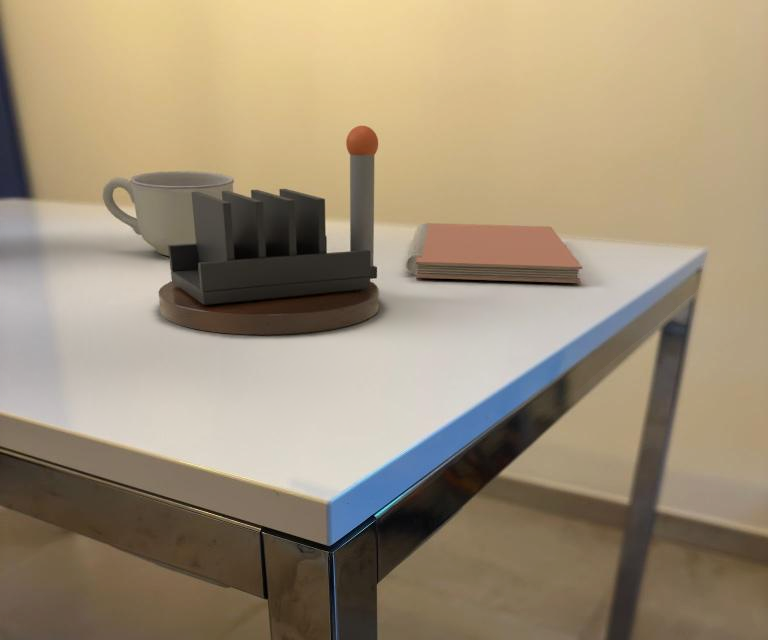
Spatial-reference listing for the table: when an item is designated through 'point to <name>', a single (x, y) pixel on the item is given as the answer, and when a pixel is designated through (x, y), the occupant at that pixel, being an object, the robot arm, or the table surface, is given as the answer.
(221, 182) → the teacup
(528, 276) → the notebook
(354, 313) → the turntable
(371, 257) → the dish rack
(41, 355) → the table surface
